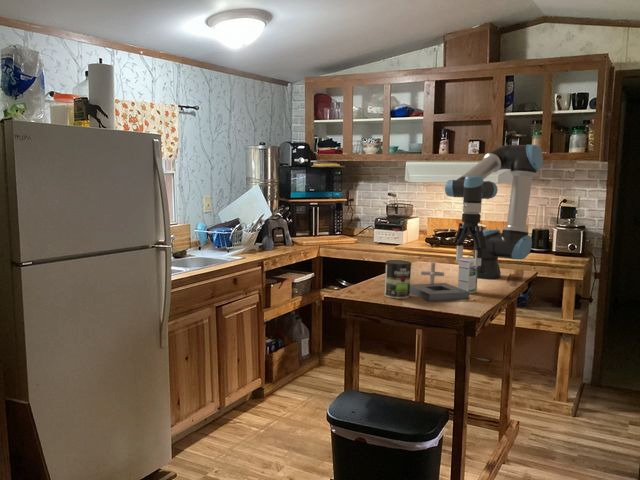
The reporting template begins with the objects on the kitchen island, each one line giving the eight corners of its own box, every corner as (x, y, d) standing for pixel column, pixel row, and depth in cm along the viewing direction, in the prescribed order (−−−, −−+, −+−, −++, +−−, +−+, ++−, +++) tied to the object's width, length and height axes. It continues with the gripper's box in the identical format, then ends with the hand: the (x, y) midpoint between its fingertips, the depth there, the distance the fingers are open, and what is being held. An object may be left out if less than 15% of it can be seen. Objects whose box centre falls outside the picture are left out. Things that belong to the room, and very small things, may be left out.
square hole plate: (444, 289, 238) (445, 282, 237) (468, 299, 221) (469, 292, 220) (407, 291, 232) (408, 284, 232) (429, 301, 215) (429, 294, 215)
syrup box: (467, 294, 230) (470, 260, 228) (456, 291, 235) (458, 258, 233) (476, 292, 234) (478, 259, 232) (465, 290, 238) (467, 257, 237)
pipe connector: (443, 287, 242) (444, 265, 241) (420, 286, 244) (421, 263, 243) (443, 283, 252) (444, 261, 251) (421, 281, 254) (422, 260, 253)
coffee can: (414, 298, 220) (415, 263, 219) (390, 299, 217) (391, 264, 216) (403, 292, 230) (404, 259, 228) (380, 293, 227) (381, 260, 225)
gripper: (447, 210, 241) (444, 258, 243) (481, 215, 217) (477, 268, 220) (462, 211, 243) (459, 258, 245) (497, 215, 219) (493, 267, 222)
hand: (468, 263), depth 232 cm, fingers open, 13 cm apart
